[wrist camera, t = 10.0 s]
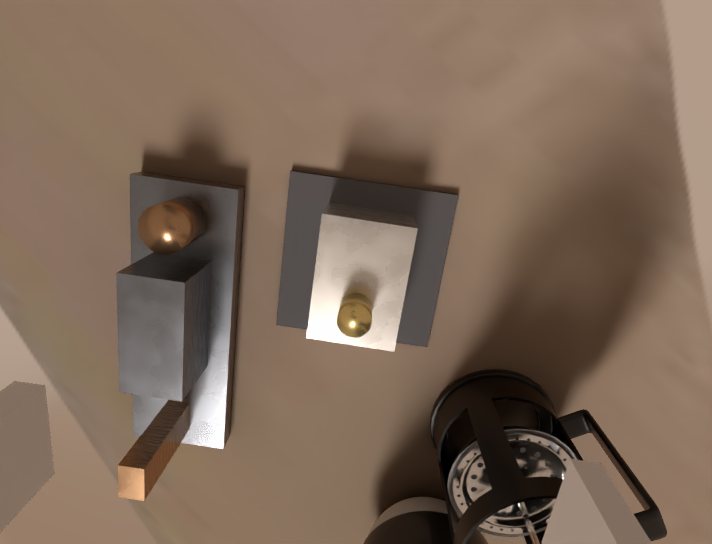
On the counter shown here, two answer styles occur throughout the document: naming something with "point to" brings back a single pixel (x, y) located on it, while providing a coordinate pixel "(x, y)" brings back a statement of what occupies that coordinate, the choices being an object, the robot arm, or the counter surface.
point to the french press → (515, 460)
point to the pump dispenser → (416, 524)
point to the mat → (319, 190)
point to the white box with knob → (361, 276)
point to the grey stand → (177, 320)
